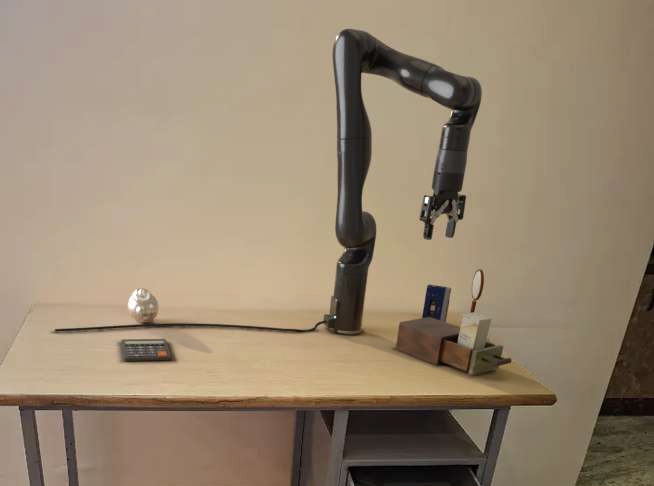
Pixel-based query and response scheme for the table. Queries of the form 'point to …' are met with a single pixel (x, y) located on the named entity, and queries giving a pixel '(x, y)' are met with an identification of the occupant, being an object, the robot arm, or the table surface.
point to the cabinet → (424, 338)
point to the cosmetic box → (474, 331)
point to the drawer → (480, 358)
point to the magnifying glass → (477, 288)
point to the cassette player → (436, 302)
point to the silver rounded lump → (143, 306)
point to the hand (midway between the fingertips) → (438, 238)
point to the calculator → (145, 349)
